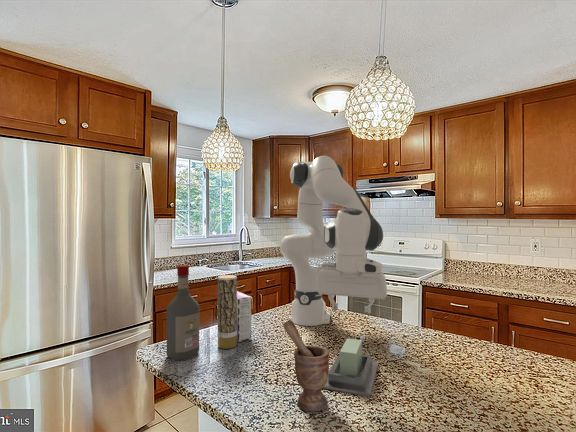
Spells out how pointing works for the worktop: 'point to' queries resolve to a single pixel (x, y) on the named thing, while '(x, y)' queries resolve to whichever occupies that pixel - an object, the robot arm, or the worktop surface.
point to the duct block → (351, 357)
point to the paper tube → (227, 311)
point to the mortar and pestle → (309, 371)
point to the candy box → (243, 317)
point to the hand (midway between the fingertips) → (351, 311)
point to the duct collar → (353, 378)
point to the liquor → (182, 321)
